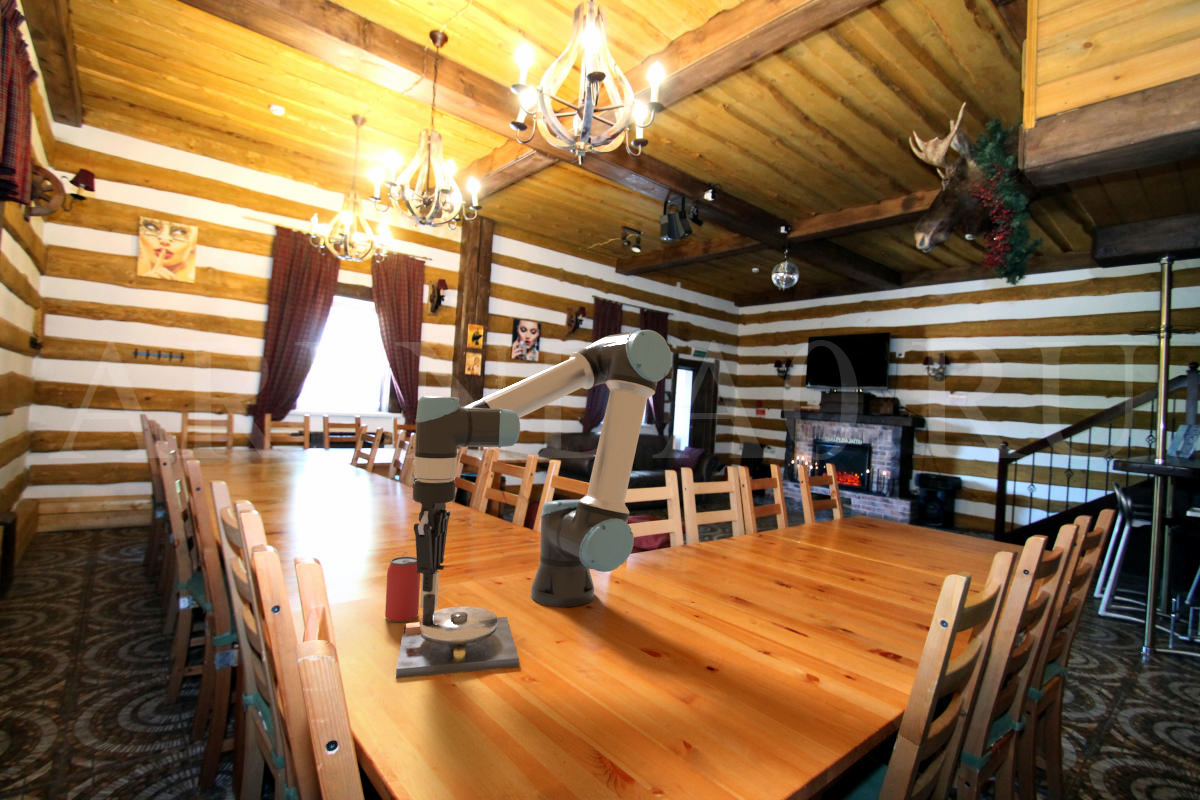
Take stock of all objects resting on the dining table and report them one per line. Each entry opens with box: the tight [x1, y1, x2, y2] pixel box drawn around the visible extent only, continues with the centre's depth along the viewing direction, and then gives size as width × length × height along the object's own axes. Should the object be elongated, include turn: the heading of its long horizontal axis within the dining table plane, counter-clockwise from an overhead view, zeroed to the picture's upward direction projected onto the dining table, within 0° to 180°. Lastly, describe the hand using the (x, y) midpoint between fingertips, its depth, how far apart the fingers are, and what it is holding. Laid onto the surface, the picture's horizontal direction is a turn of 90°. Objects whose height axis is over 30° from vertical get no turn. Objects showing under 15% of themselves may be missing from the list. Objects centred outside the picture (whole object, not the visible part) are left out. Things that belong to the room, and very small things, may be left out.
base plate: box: [395, 616, 520, 679], centre depth 100 cm, size 20×19×4 cm
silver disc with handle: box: [405, 594, 497, 645], centre depth 100 cm, size 16×14×6 cm
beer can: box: [384, 556, 421, 623], centre depth 114 cm, size 7×7×12 cm
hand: (428, 606), depth 100 cm, fingers closed
